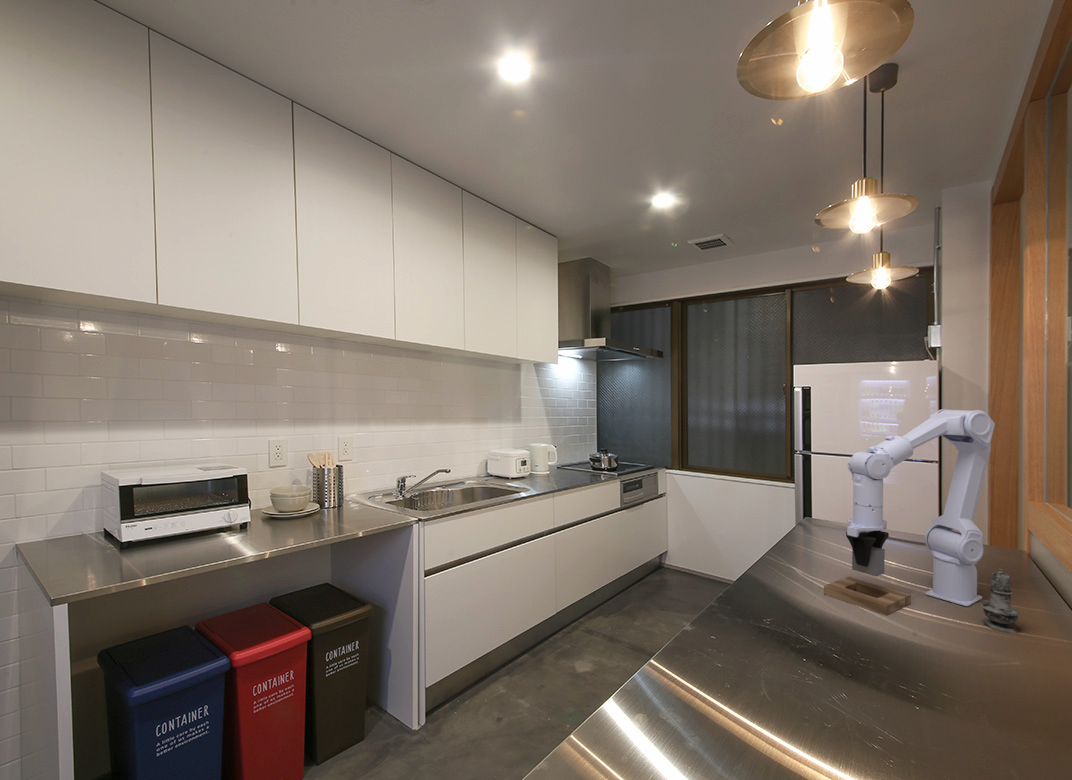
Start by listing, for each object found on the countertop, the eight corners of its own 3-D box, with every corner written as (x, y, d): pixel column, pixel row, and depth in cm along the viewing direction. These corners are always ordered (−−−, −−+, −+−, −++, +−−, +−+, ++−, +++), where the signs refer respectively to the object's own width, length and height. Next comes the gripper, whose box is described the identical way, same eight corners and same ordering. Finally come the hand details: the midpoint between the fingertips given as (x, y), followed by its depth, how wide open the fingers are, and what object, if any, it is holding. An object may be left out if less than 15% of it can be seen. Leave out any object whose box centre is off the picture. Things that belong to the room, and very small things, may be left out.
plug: (860, 566, 118) (860, 543, 118) (884, 573, 114) (884, 549, 114) (852, 569, 116) (852, 545, 116) (876, 576, 112) (876, 551, 112)
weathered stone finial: (1028, 635, 99) (1028, 574, 99) (993, 631, 100) (994, 571, 100) (1006, 621, 104) (1007, 564, 105) (974, 618, 106) (974, 562, 106)
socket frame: (849, 584, 124) (849, 576, 124) (910, 603, 113) (910, 594, 113) (823, 594, 117) (823, 585, 117) (886, 615, 106) (886, 606, 106)
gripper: (864, 498, 122) (863, 553, 122) (833, 504, 115) (832, 563, 114) (897, 504, 116) (896, 562, 116) (867, 510, 109) (866, 573, 108)
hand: (866, 563), depth 115 cm, fingers closed on plug, 4 cm apart
